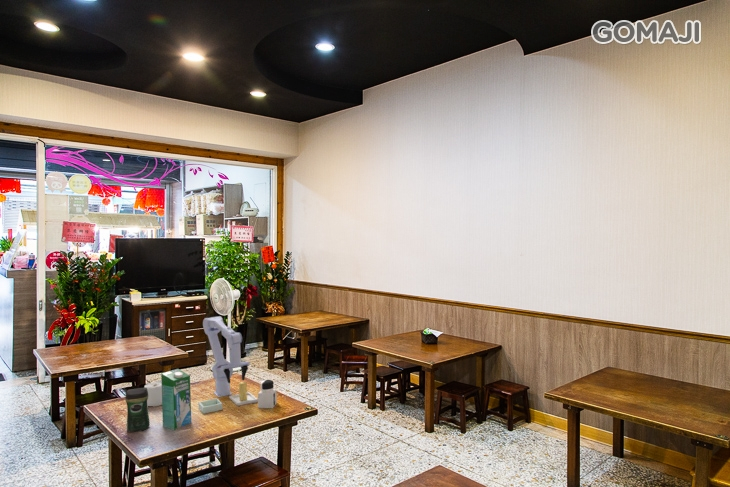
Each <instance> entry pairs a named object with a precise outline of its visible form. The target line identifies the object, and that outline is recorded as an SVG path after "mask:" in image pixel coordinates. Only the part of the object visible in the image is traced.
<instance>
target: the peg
mask: <svg viewBox="0 0 730 487" xmlns="http://www.w3.org/2000/svg"><path fill="white" fill-rule="evenodd" d="M247 386H248V384H247V382H246V381H241V382H239V383H238V394H239V398H240V401H246V400H247V392H248V387H247Z"/></svg>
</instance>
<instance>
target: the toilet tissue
mask: <svg viewBox="0 0 730 487" xmlns="http://www.w3.org/2000/svg"><path fill="white" fill-rule="evenodd" d="M143 388H147V390H148V400H147V407H148V406H153V407H159V406H161V405H162V379H161V380H157V381H152V382H149V383H146V384H145V385H144V387H143Z"/></svg>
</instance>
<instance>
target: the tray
mask: <svg viewBox="0 0 730 487" xmlns="http://www.w3.org/2000/svg"><path fill="white" fill-rule="evenodd" d="M228 396H229V400H230V401H232V403H233V404H234V405H236V407H238V406H242V405H247V404H256V403H257V404H258V397H256V396H255V395H254V394H253V393H251V392H249V391H247V400H246V401H240V398H239V393H238V394H231V395H228Z"/></svg>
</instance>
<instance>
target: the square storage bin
mask: <svg viewBox="0 0 730 487" xmlns="http://www.w3.org/2000/svg"><path fill="white" fill-rule="evenodd" d="M197 403H198V409H199V411H200V412H201V413H202V414H208V413H213V412H214V413H215V412H218V411H222V410H223V409H224V408H223V402H221V400H220V399H219V397H218V398H212V399H207V400H202V401H198V402H197Z"/></svg>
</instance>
